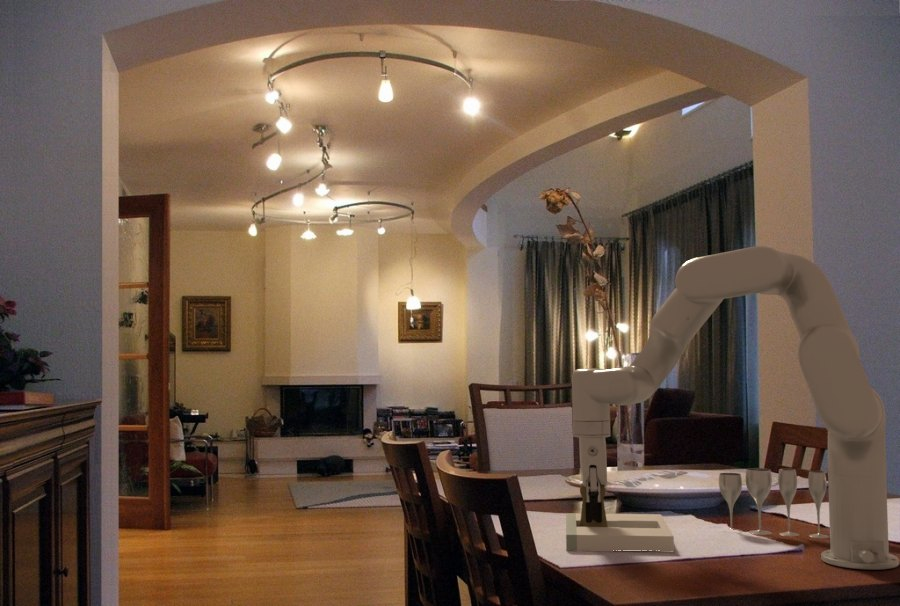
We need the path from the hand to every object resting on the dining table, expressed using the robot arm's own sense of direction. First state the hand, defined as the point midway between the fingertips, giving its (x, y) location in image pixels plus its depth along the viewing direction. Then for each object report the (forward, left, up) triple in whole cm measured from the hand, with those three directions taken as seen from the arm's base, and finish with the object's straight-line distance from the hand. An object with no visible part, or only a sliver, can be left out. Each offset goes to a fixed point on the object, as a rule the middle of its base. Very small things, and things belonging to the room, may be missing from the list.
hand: (593, 519), depth 189 cm
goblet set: (+8, -40, -4) cm, 41 cm away
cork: (0, 0, -3) cm, 3 cm away
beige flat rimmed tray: (0, -4, -4) cm, 6 cm away
